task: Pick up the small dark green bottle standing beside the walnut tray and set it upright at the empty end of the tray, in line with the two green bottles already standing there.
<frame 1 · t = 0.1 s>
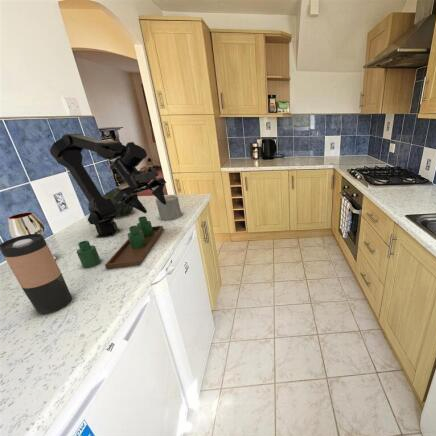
hand: (156, 208, 92), 15 cm above the countertop, tool tilted 35°, fingers open, 9 cm apart
coffee mug: (170, 215, 125), on the countertop
bottle middle: (139, 246, 95), resting on tray
tray: (139, 246, 95), on the countertop
bottle near: (147, 235, 104), resting on tray
travel mug: (55, 305, 67), on the countertop
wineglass: (44, 262, 87), on the countertop
squash: (120, 215, 128), on the countertop
green bottle: (92, 263, 85), on the countertop
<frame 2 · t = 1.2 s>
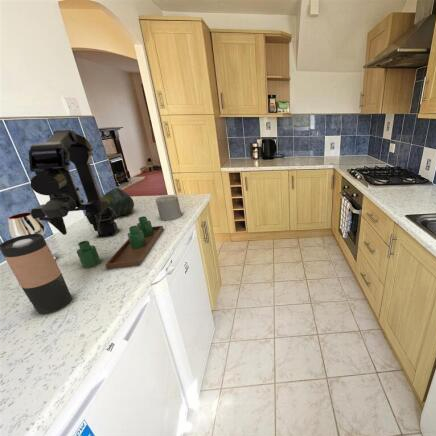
hand: (81, 232, 80), 12 cm above the countertop, tool pointing down, fingers open, 9 cm apart
nothing on the countertop moved.
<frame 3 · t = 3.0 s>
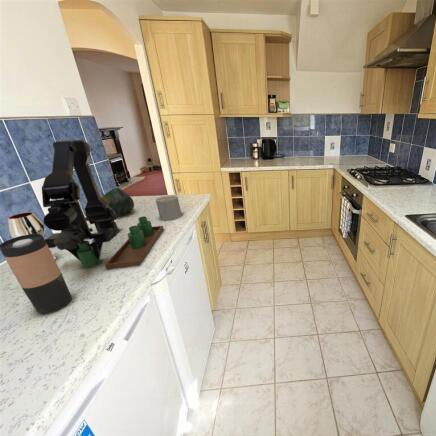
hand: (90, 259, 84), 2 cm above the countertop, tool pointing down, fingers closed on green bottle, 5 cm apart
green bottle: (92, 263, 85), on the countertop, touching gripper
everything else where it was.
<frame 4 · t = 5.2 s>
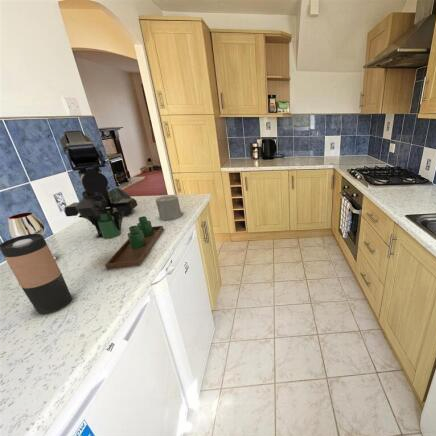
hand: (110, 230, 82), 12 cm above the countertop, tool pointing down, fingers closed on green bottle, 5 cm apart
green bottle: (112, 235, 82), point 10 cm above the countertop, touching gripper
everything else where it was.
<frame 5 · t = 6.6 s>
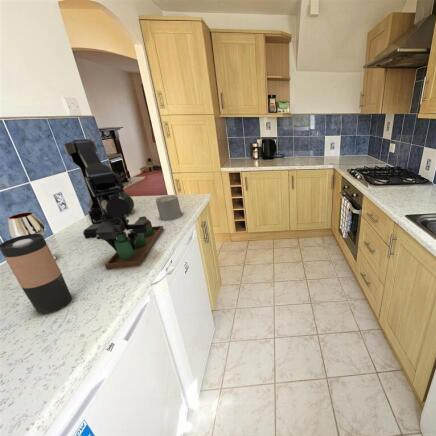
hand: (126, 250, 85), 4 cm above the countertop, tool pointing down, fingers closed on green bottle, 5 cm apart
green bottle: (127, 254, 86), point 2 cm above the countertop, touching gripper
everything else where it was.
when the fingers open (2 cm above the countertop, at t = 7.5 s): green bottle stays where it is, resting on tray.
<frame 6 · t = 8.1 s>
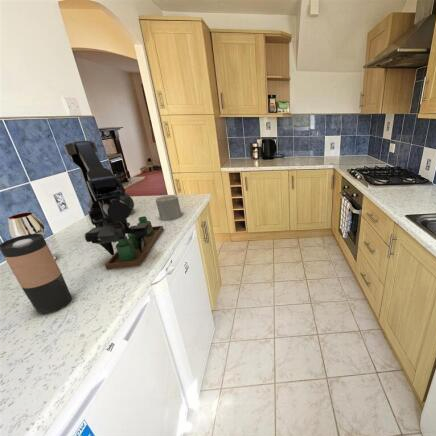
hand: (127, 253, 86), 3 cm above the countertop, tool pointing down, fingers open, 9 cm apart
green bottle: (129, 258, 87), resting on tray
everything else where it was.
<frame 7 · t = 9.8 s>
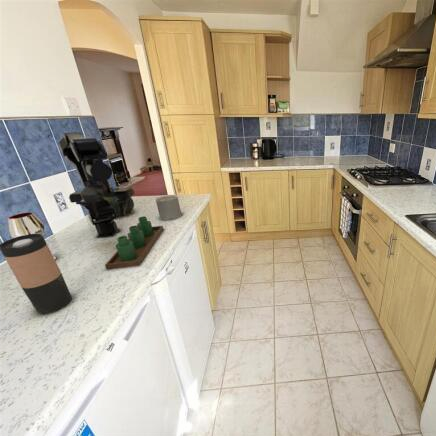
hand: (110, 216, 91), 13 cm above the countertop, tool pointing down, fingers open, 9 cm apart
nothing on the countertop moved.
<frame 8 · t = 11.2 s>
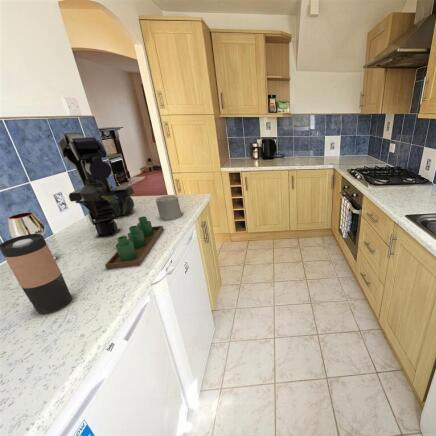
hand: (110, 215, 92), 13 cm above the countertop, tool pointing down, fingers open, 9 cm apart
nothing on the countertop moved.
at the end: green bottle 0.2 cm from the target spot in the tray, point 0.4 cm above the tray's base; green bottle tilted 0°; the gripper is holding nothing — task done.
